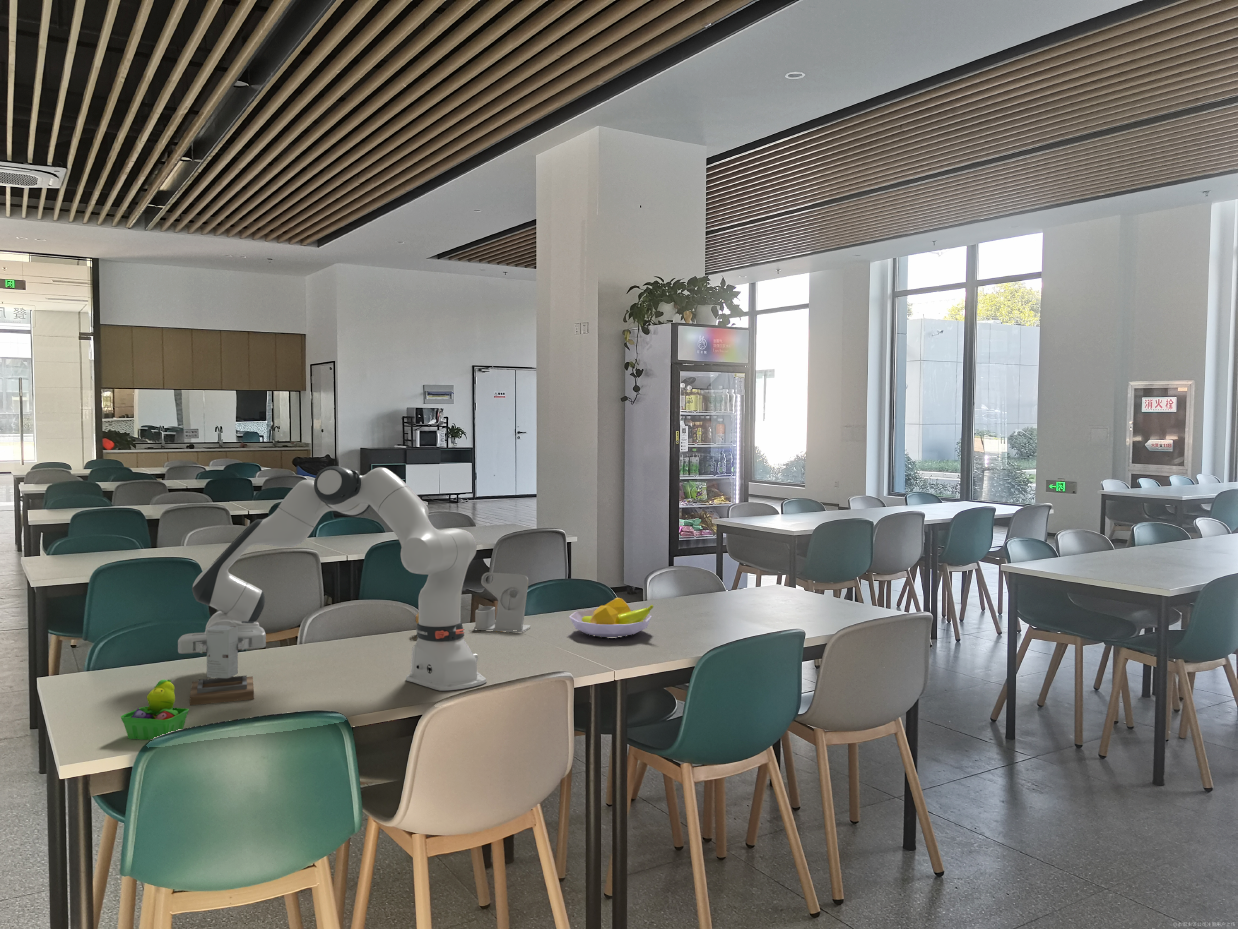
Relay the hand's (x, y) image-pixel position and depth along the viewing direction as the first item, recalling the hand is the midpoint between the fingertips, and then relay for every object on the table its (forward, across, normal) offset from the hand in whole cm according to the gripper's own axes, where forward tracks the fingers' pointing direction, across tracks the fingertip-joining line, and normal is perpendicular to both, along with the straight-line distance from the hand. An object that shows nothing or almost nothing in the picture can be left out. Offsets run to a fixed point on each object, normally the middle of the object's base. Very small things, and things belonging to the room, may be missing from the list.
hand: (222, 648), depth 219 cm
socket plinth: (-1, 0, +12) cm, 12 cm away
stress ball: (-48, +61, +12) cm, 78 cm away
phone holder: (-49, +84, +12) cm, 98 cm away
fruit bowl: (-29, +116, +12) cm, 120 cm away
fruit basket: (+26, -12, +12) cm, 31 cm away
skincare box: (-1, 0, +7) cm, 7 cm away
